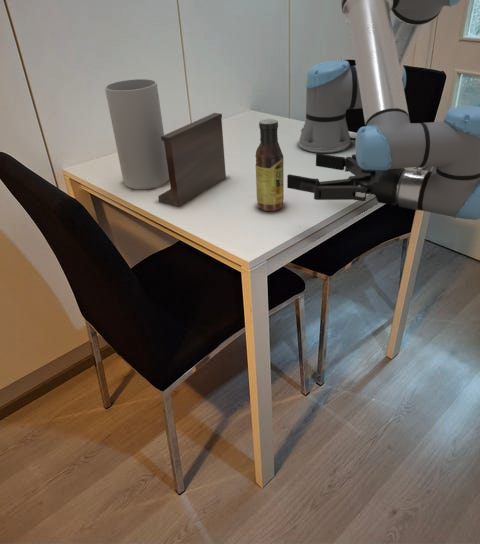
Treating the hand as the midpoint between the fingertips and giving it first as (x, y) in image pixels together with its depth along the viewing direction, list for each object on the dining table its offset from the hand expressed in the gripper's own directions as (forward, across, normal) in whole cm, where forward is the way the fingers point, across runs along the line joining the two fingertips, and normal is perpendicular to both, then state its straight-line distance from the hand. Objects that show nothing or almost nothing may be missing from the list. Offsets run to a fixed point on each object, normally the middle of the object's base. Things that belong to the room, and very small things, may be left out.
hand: (302, 169), depth 104 cm
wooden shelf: (+31, 0, +10) cm, 33 cm away
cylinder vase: (+46, +1, +11) cm, 47 cm away
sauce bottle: (+8, 0, +11) cm, 13 cm away
